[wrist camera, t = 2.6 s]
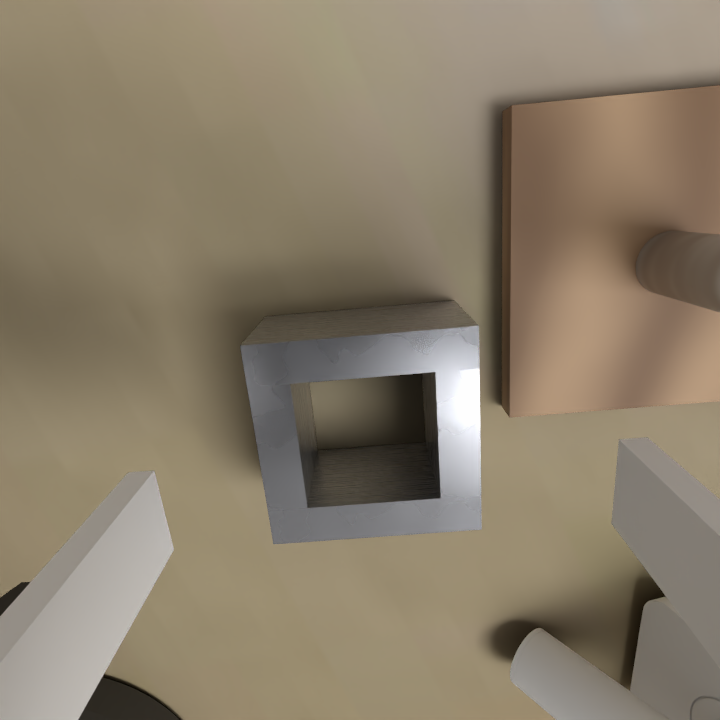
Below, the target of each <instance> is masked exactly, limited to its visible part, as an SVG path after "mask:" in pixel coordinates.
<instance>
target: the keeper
mask: <svg viewBox="0 0 720 720" xmlns="http://www.w3.org/2000/svg"><path fill="white" fill-rule="evenodd" d="M714 401H720V85H717V86H707V87H697V88H686V89H676V90H666V91H655V92H645V93H635V94H624V95H614V96H603V97H593V98H583V99H572V100H562V101H552V102H541V103H531V104H521V105H512V106H510V107H509V108H507V109H506V110H504V111H503V112H502V407H503V409H504V410H505V412H506V413H507V414H508V416H509V417H522V416H534V415H547V414H560V413H573V412H586V411H599V410H611V409H624V408H637V407H650V406H663V405H675V404H688V403H701V402H714Z"/></svg>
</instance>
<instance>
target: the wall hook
mask: <svg viewBox="0 0 720 720" xmlns="http://www.w3.org/2000/svg"><path fill="white" fill-rule="evenodd" d="M510 678H511V681H512V683H514V684H515V685H516V686H517V687H518V688H519V689H521V690H522V691H523V692H524V693H525V694H527V695H528V696H529V697H530V698H531V699H532V700H534V701H535V702H536V703H537V704H538V705H540V706H541V707H542V708H543V709H544V710H545V711H547V712H548V713H549V714H550V715H551V716H552V717H554V718H555V719H556V720H720V668H719V667H718V665H717V664H716V663H715V661H714V660H713V659H712V657H711V656H710V655H709V653H708V652H707V651H706V649H705V648H704V647H703V645H702V644H701V643H700V641H699V640H698V639H697V637H696V636H695V635H694V633H693V632H692V631H691V629H690V628H689V627H688V625H687V624H686V623H685V621H684V620H683V619H682V617H681V616H680V615H679V613H678V612H677V611H676V609H675V608H674V607H673V605H672V604H671V603H670V601H669V600H668V599H667V597H666V596H665V597H662V598H658V599H654V600H650V601H648V602H647V603H646V604H645V605H644V608H643V613H642V619H641V625H640V631H639V637H638V643H637V650H636V656H635V662H634V669H633V675H632V681H631V688H630V691H629V690H628V689H626V688H625V687H623V686H622V685H621V684H619V683H618V682H616V681H615V680H614V679H612V678H611V677H609V676H608V675H607V674H605V673H604V672H602V671H601V670H600V669H598V668H597V667H595V666H594V665H592V664H591V663H590V662H588V661H587V660H585V659H584V658H583V657H581V656H580V655H578V654H577V653H576V652H574V651H573V650H571V649H570V648H569V647H567V646H566V645H564V644H563V643H562V642H560V641H559V640H557V639H556V638H554V637H553V636H552V635H550V634H549V633H547V632H546V631H545V630H543V629H542V628H536V629H534V630H533V631H531V632H530V633H529V634H528V635H527V636H526V637H525V639H524V640H523V642H522V643H521V644H520V646H519V648H518V650H517V652H516V654H515V656H514V659H513V661H512V665H511V670H510Z"/></svg>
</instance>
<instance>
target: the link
mask: <svg viewBox="0 0 720 720" xmlns="http://www.w3.org/2000/svg"><path fill="white" fill-rule="evenodd" d="M240 348H241V354H242V360H243V366H244V372H245V378H246V384H247V390H248V395H249V401H250V407H251V413H252V419H253V425H254V431H255V437H256V443H257V449H258V455H259V461H260V467H261V473H262V478H263V484H264V490H265V496H266V502H267V508H268V514H269V520H270V526H271V532H272V538H273V544H284V543H298V542H312V541H326V540H340V539H354V538H368V537H382V536H396V535H410V534H424V533H438V532H452V531H466V530H480V529H482V527H481V449H480V371H479V325H478V324H477V323H476V322H475V321H474V320H473V319H472V318H471V317H470V316H469V315H468V314H467V313H466V312H465V311H464V310H463V309H462V308H461V307H460V306H459V305H458V304H457V303H456V302H455V301H454V300H453V301H441V302H430V303H418V304H406V305H394V306H383V307H371V308H359V309H347V310H336V311H324V312H312V313H300V314H289V315H277V316H265V318H264V319H263V320H262V321H261V322H260V323H259V324H258V326H257V327H256V328H255V329H254V330H253V331H252V333H251V334H250V335H249V336H248V337H247V338H246V339H245V341H244V342H243V343H242V344H241V345H240ZM418 373H422V383H423V403H424V422H425V442H421V443H408V444H395V445H382V446H369V447H356V448H343V449H330V450H318V448H317V440H316V432H315V424H314V416H313V409H312V401H311V393H310V385H309V382H319V381H331V380H344V379H356V378H368V377H381V376H393V375H405V374H418Z"/></svg>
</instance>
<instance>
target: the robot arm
mask: <svg viewBox="0 0 720 720" xmlns="http://www.w3.org/2000/svg"><path fill="white" fill-rule="evenodd" d="M612 525H613V526H614V528H615V529H616V530H617V532H618V533H619V534H620V536H621V537H622V538H623V540H624V541H625V542H626V544H627V545H628V546H629V548H630V549H631V550H632V552H633V553H634V554H635V556H636V557H637V558H638V560H639V561H640V562H641V564H642V565H643V566H644V568H645V569H646V570H647V572H648V573H649V574H650V576H651V577H652V578H653V580H654V581H655V582H656V584H657V585H658V586H659V588H660V589H661V590H662V592H663V593H664V595H665V596H666V597H667V599H668V600H669V601H670V603H671V604H672V605H673V607H674V608H675V609H676V611H677V612H678V613H679V615H680V616H681V617H682V619H683V620H684V621H685V623H686V624H687V625H688V627H689V628H690V629H691V631H692V632H693V633H694V635H695V636H696V637H697V639H698V640H699V641H700V643H701V644H702V645H703V647H704V648H705V649H706V651H707V652H708V653H709V655H710V656H711V657H712V659H713V660H714V661H715V663H716V664H717V665H718V667H719V668H720V499H719V498H718V497H716V496H715V495H714V494H713V493H712V492H711V491H709V490H708V489H707V488H706V487H705V486H704V485H702V484H701V483H700V482H699V481H698V480H697V479H695V478H694V477H693V476H692V475H691V474H689V473H688V472H687V471H686V470H685V469H684V468H682V467H681V466H680V465H679V464H678V463H677V462H675V461H674V460H673V459H672V458H671V457H670V456H668V455H667V454H666V453H665V452H664V451H663V450H661V449H660V448H659V447H658V446H657V445H656V444H654V443H653V442H652V441H651V440H650V439H649V438H632V439H619V444H618V456H617V467H616V479H615V490H614V501H613V513H612ZM173 550H174V548H173V544H172V540H171V536H170V532H169V528H168V524H167V520H166V516H165V512H164V508H163V504H162V500H161V496H160V492H159V488H158V484H157V480H156V476H155V472H154V471H141V472H128V473H127V474H126V476H125V477H124V478H123V479H122V480H121V481H120V482H119V483H118V485H117V486H116V487H115V488H114V489H113V490H112V491H111V492H110V494H109V495H108V496H107V497H106V498H105V499H104V500H103V501H102V503H101V504H100V505H99V506H98V507H97V508H96V509H95V510H94V512H93V513H92V514H91V515H90V516H89V517H88V518H87V519H86V521H85V522H84V523H83V524H82V525H81V526H80V527H79V528H78V530H77V531H76V532H75V533H74V534H73V535H72V536H71V537H70V539H69V540H68V541H67V542H66V543H65V544H64V545H63V546H62V547H61V549H60V550H59V551H58V552H57V553H56V554H55V555H54V556H53V558H52V559H51V560H50V561H49V562H48V563H47V564H46V565H45V567H44V568H43V569H42V570H41V571H40V572H39V573H38V574H37V576H36V577H35V578H34V579H33V580H32V581H31V582H22V583H20V584H19V585H17V586H16V587H15V588H13V589H12V590H10V591H9V592H8V593H6V594H5V595H3V596H2V597H1V598H0V720H179V719H178V718H177V717H176V716H175V715H174V714H173V713H171V712H170V711H169V710H168V709H167V708H165V707H164V706H163V705H161V704H160V703H158V702H157V701H155V700H154V699H152V698H151V697H149V696H147V695H145V694H144V693H142V692H140V691H138V690H136V689H134V688H131V687H129V686H126V685H124V684H121V683H119V682H116V681H113V680H110V679H106V678H103V675H104V673H105V671H106V669H107V668H108V666H109V664H110V662H111V661H112V659H113V657H114V655H115V653H116V652H117V650H118V648H119V646H120V645H121V643H122V641H123V639H124V637H125V636H126V634H127V632H128V630H129V629H130V627H131V625H132V623H133V621H134V620H135V618H136V616H137V614H138V613H139V611H140V609H141V607H142V605H143V604H144V602H145V600H146V598H147V597H148V595H149V593H150V591H151V589H152V588H153V586H154V584H155V582H156V581H157V579H158V577H159V575H160V573H161V572H162V570H163V568H164V566H165V565H166V563H167V561H168V559H169V557H170V556H171V554H172V552H173Z"/></svg>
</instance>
